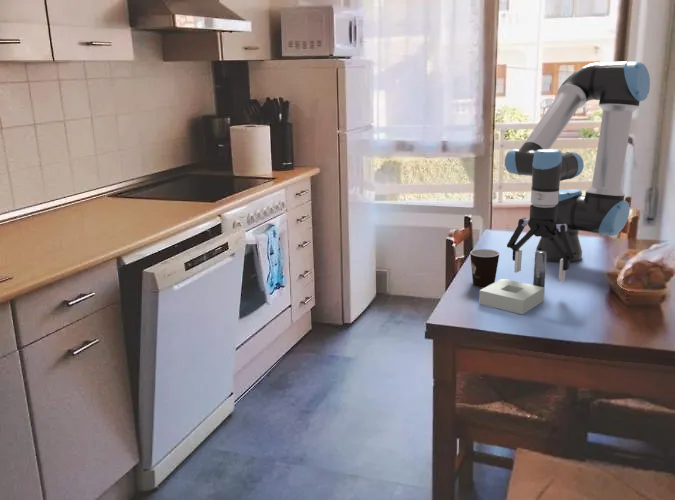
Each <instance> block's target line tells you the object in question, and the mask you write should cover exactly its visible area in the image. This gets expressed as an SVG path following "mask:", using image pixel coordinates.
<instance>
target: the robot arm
mask: <svg viewBox="0 0 675 500" xmlns="http://www.w3.org/2000/svg"><path fill="white" fill-rule="evenodd" d="M650 87H651V79H650V74H649V70H648V67H647V66H646V65H645V64H644V63H643V62H641V61H631V60H630V61H629V60H625V61H610V62H609V61H608V62H607V61H605V62H600V61H599V62H598V61H597V62H592V63H588V64H586V65H583V66H582V67H580V68H579V69H577V70H576V71H574V72H572V74H571V75H570V74H569V76H568V77H567V78H566V79H565V80H564V81H563V82H562V84H561V85H560V87H559V88H558V89H557V93H556V97H555V99H554V101H553V102H552V103H551V105H549V107H548V109H547V110H546V112H545V113H544V114H543V116H542V117H541V118H540V120H539V122H538V123H537V124H536V126H535V127H534V128H533V129H532V130H533V131H532V132H531V133H530V134H529V136H528V137H527V138H526V139H525V141H524V143H523V144H522V146H521V147H520V148H513V149H511V150H508V152H506V155H505V157H504V167H505V170H506V171H507V172H508V174H509V173H510V174H513V175H518V176H528V177H529V176H530V177H531V188H530V189H531V191H530V203H531V204H530V206H529V219H527V218H526V217H522V218H520V219H518V222H517V227H516V229H515V231H514V232H513V234H512V235H511V237H510V239H509V241H508V242H507V244H506V247H507V248H509V249H511V250H512V257H511V258H512V262H513V261H514V271H513V272H514V273H516V274H518V273H519V272H522V257H523V256H522V255H523V249H521V247H523V246H524V245H525V244H526V243H527V241H529V240H530V239H531V238H532V237H533V236H535V237H540V239H539V241H538V244H537V245H536V248H535V252H536V251H545V252H547V258H546V262H554V263H559V269H558V282H559V283H561V282H563V281H565V280H566V271H568V270H569V269H570V263H574V262H578V261H580V260H582V259H583V258H582V257H583V250H582V245H581V243H580V238H579V232H586V233H592V234H598V235H600V236H609V237H610V236H612V237H613V236H616V235H618V234H619V233H621V232H622V230H623V229H624V227H625V225H626V224H627V222H628V220H629V216H630V210H631V209H630V203H629V202H628V201H626V199H625V193H624V192H623V191H622V189H621V188H622V180H623V176H624V175H623V174H624V168H625V163H626V162H625V160H626V155H627V151H628V150H627V149H628V143H629V137H630V132H631V125H632V119H633V113H634V111H637V109H639V108H640V102H643V101H645V100H646V99H647V98H648V95H649V93H650V89H651V88H650ZM594 100H595V101H599V102H598V106H599V108H600V109H601V110H602V117H601V122H600V131H599V136H598V143H597V149H596V155H595V162H594V169H593V174H592V181H591V186H590V187H589V188H588V189H587V190H585V195H583V191H582V190H581V189H577V188H575V189H574V188H572V189H560V183H561V182H562V181H565V180H566V181H567V180H572V179H574V178H576V177H578V176H579V175H580V174H581V173H582V172H583V170H584V166H585V165H584V164H585V163H584V160H583V158H582V156H581V155H580V154H578V153H577V152H573V151H572V152H567V151H566V152H563V153H562V151H561V150H560V149H554V148H552V147H553V145H554V144H555V142H556V141H557V139H559V136H560V135H562V133H563V131H564V129H565V128H566V126H567V125H568V124H569V122H570V120H571V119H572V118H573V116H574V115H575V114H576V112H577V111H578V109H581V108H583V107H584V106H585V105H586V103H587V102H588V101H594ZM526 226H528V227H529V230H528V232H526V233H525V235H524V236H523V237H522V238H520V236H521V234H522V233H523V232H524V231H523V230H524V229H525V227H526ZM519 238H520V240H518V239H519Z"/></svg>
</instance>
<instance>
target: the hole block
mask: <svg viewBox="0 0 675 500" xmlns="http://www.w3.org/2000/svg"><path fill="white" fill-rule="evenodd" d="M478 294H479V297H478V298H479V300H478V304H479V305H483V306H487V307H491V308H495V309H499V310H503V311H505V312H511V313H514V314H519V315H524V314H525V313H527V312H528V311H530V310H532V309H533V308H535V307H536V306H537V305H539V304H541V303H542V302H544V300H545V299H544V295H545V287H540V286H535V285H533V284H530V283H526V282H525V283H524V282H521V281H515V280H511V279H506V278H500V279H498V280H497V281H496V280H495V282H494V283H493V284H491V285H489V286H487V287H485V288H481V289H479V293H478Z"/></svg>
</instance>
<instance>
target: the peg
mask: <svg viewBox="0 0 675 500" xmlns="http://www.w3.org/2000/svg"><path fill="white" fill-rule="evenodd" d="M546 258H547V252H545V251H536V250H535V252H534V264H533V265H534V266H533V268H534V269H533V281H532V282H533V283H532V285H535V286H540V287H544V288H545V284H546V270H547V269H546V268H547V260H546Z"/></svg>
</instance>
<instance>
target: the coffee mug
mask: <svg viewBox="0 0 675 500" xmlns="http://www.w3.org/2000/svg"><path fill="white" fill-rule="evenodd" d="M469 256H470V263H471V265H470V267H471V276H472V277H471V278H472V285H473V286H474V287H478V288H481V289H483V288H485V287H487V286H489V285H491V284H493V283H494V282H496V277H497V272H498V271H497V270H498V265H499V260H500V252H499V251H497V250H495V249H488V248H478V249H473V250H471V251H470V252H469Z"/></svg>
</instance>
